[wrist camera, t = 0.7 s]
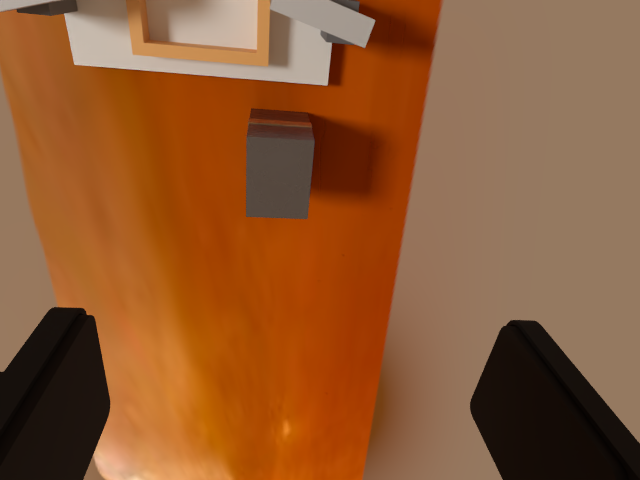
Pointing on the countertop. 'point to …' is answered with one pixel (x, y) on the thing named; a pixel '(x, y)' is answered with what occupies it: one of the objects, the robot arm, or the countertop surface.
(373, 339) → the countertop surface
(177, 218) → the countertop surface
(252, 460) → the countertop surface
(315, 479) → the countertop surface
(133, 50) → the stand
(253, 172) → the block
